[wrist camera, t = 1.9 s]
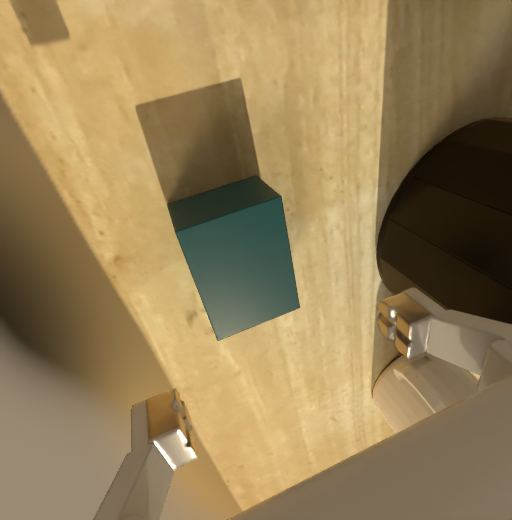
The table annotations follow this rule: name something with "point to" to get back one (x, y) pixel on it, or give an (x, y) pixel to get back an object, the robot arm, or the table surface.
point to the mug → (420, 389)
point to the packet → (237, 254)
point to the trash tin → (455, 224)
